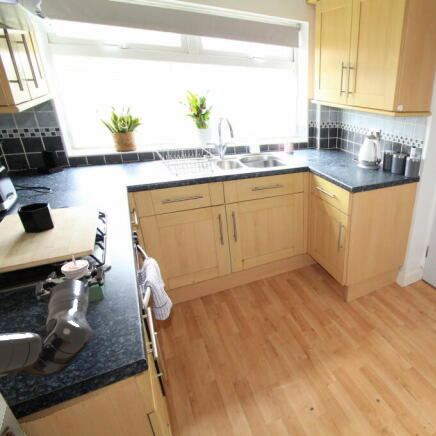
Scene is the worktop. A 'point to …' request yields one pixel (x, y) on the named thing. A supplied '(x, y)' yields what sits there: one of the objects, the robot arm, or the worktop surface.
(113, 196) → the worktop surface
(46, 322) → the robot arm
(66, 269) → the smoothie
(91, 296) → the green open box
